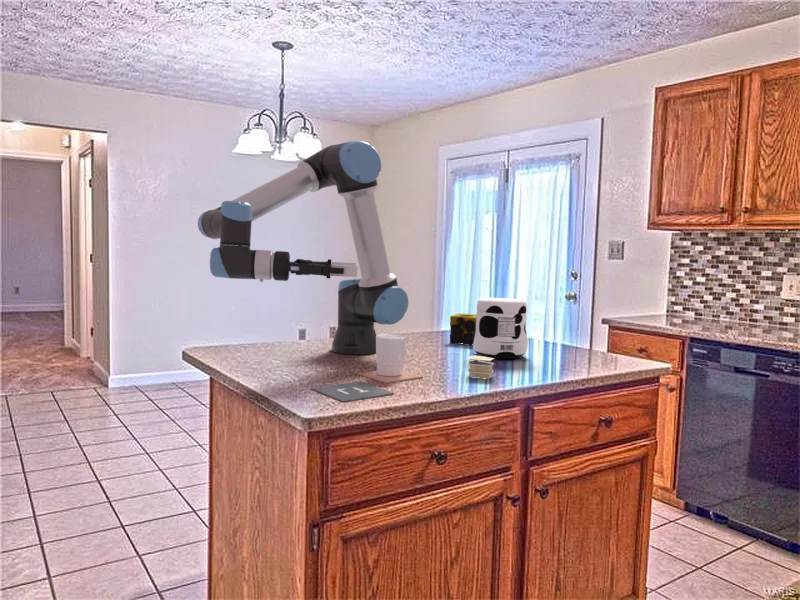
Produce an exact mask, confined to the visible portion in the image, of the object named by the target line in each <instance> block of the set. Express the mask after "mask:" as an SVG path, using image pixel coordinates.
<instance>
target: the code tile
mask: <svg viewBox="0 0 800 600" xmlns="http://www.w3.org/2000/svg"><path fill="white" fill-rule="evenodd" d="M311 390H312V391H313V392H316V393H319V394H322V395H324V396H327V397H329V398H331V399H334V400H336V401H339V402H340V403H341V402H342V403H348V402H355V401H360V400H367V399H373V398H379V397H384V396H385V397H386V396H390V395H395V392H393V391H389V390H386V389H385V388H381V387H379V386H375V385H372V384H370V383H366V382H363V381H361V380H359V381H354V382H345V383H338V384H333V385H332V384H331V385H323V386H316V387H311Z"/></svg>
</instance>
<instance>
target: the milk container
mask: <svg viewBox="0 0 800 600" xmlns="http://www.w3.org/2000/svg"><path fill="white" fill-rule="evenodd" d="M476 303H477V304H476V328H475V332H474V335H473V345H472V347H473V351H474V352H475V353H476V354H477V355H479V356H483V357H489V358H494V359H516V358H520V357H523V356H524V355H525V354H526V352H527V350H528V345H529V343H528V342H529V339H528V335H527V330H526V323H527V309H528V308H527V301H526V300H524V299H523V300H522V299H518V298H517V299H516V298H506V297H505V298H501V297H486V298H485V297H483V298H478V299H477V302H476Z"/></svg>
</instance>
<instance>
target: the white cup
mask: <svg viewBox="0 0 800 600" xmlns="http://www.w3.org/2000/svg"><path fill="white" fill-rule="evenodd" d="M406 339H407V338H406V336H405V335H401V334H392V333H390V334H389V333H388V334H387V333H384V334H378V335H377V334H376V353H375V356H376V357H375V358H376V359H375V363H376V371H377V374H379V375H382V376H399V375H402V371H404V370H403V369H404V367H403V366H404V362H405V361H404V360H405V351H406Z"/></svg>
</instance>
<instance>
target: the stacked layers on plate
mask: <svg viewBox="0 0 800 600" xmlns="http://www.w3.org/2000/svg"><path fill="white" fill-rule="evenodd" d="M468 359H469V360H468V365H469V367H468V368H467V372H468V373H469V375H468V376H470V377H479V378H486V379H489V378H490V377H492V378H493V373H494V372H495V370H493V367H494V365H495V362H489V361H492V360H494V359H495V358H492V357H486V356H482V355H469V356H468ZM486 379H485V380H486ZM489 380H490V379H489Z"/></svg>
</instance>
